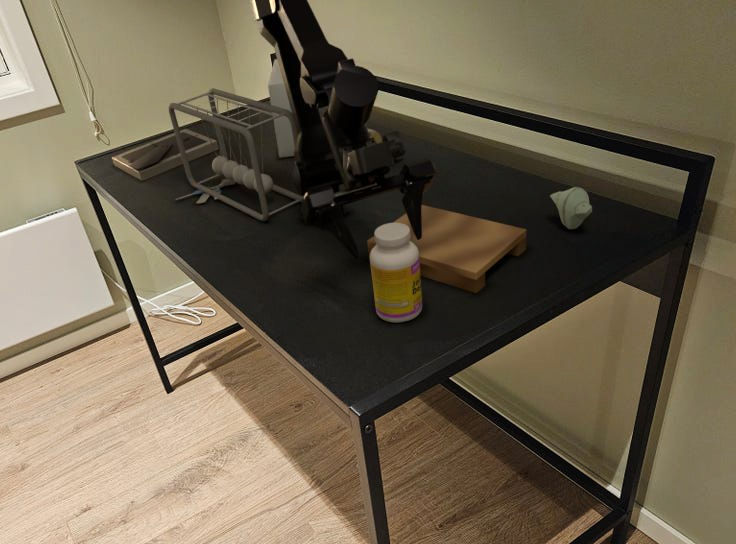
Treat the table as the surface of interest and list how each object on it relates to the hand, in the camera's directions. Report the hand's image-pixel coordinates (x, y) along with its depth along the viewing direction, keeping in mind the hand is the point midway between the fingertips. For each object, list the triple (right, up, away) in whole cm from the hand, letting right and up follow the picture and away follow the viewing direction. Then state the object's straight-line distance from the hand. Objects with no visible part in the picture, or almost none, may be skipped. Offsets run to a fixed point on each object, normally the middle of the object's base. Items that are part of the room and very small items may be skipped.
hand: (389, 248), depth 90 cm
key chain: (-32, +19, +47) cm, 60 cm away
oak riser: (+11, +1, +14) cm, 18 cm away
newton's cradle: (-24, +18, +44) cm, 54 cm away
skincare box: (-16, +36, +65) cm, 76 cm away
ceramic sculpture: (0, +25, +47) cm, 53 cm away
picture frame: (-47, +33, +69) cm, 90 cm away
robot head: (+31, +5, +15) cm, 34 cm away
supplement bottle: (+2, -8, +5) cm, 10 cm away
